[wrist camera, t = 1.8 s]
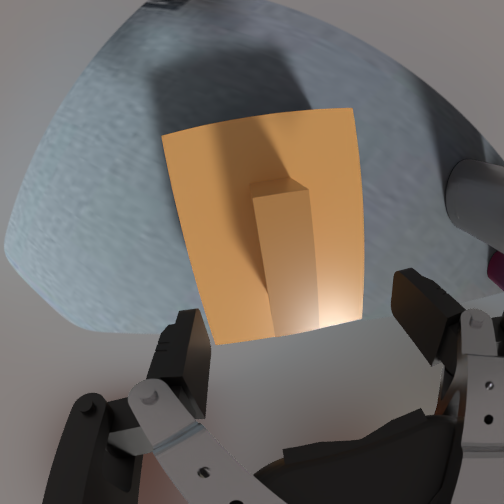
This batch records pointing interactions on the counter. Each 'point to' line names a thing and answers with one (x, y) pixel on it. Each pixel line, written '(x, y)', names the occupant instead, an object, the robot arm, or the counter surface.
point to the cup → (497, 269)
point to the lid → (272, 221)
